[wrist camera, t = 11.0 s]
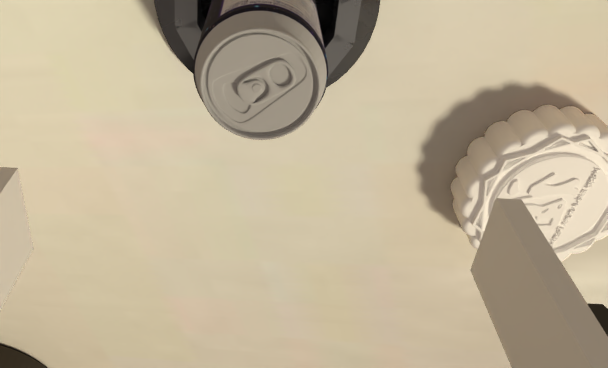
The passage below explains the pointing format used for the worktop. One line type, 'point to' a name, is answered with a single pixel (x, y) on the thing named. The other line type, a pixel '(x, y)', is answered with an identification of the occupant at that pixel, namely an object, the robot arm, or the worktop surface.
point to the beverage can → (261, 65)
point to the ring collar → (332, 16)
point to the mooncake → (539, 176)
